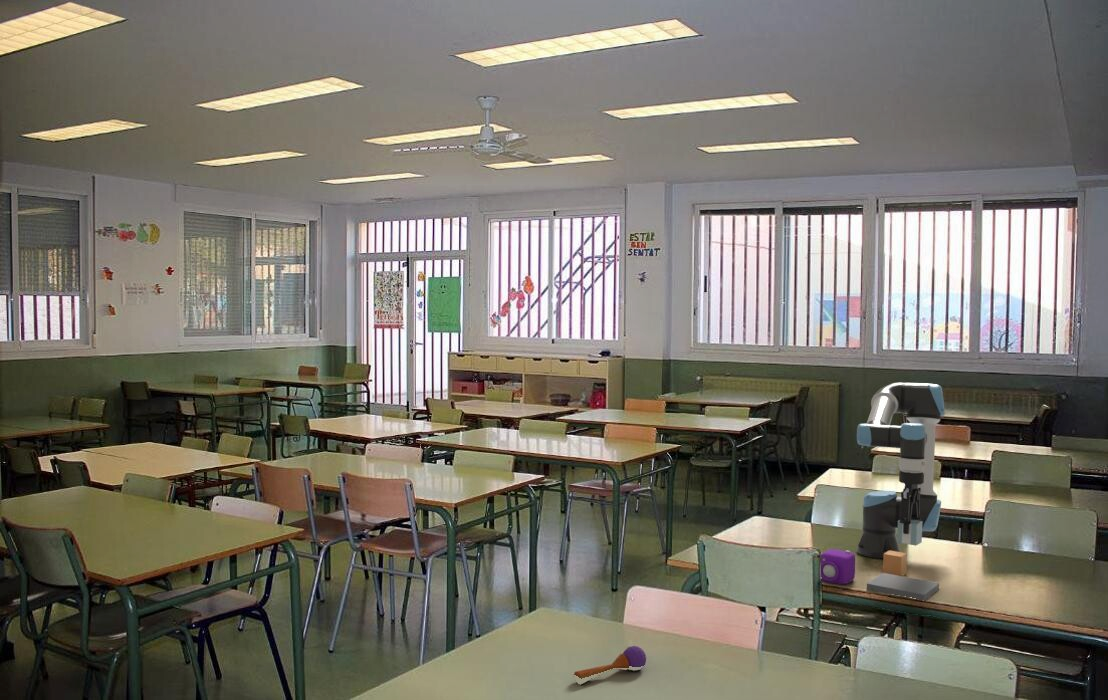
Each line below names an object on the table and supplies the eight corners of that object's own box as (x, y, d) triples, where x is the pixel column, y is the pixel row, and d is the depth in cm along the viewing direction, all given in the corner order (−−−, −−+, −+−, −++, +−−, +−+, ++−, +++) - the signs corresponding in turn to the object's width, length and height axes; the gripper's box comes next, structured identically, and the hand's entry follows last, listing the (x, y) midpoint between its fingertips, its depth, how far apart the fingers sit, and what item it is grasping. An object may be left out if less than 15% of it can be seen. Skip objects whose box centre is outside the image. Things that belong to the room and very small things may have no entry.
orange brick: (883, 573, 309) (883, 553, 308) (888, 570, 313) (889, 550, 313) (900, 577, 305) (901, 556, 305) (906, 573, 310) (906, 553, 309)
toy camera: (815, 584, 295) (815, 554, 295) (823, 574, 307) (824, 545, 307) (848, 589, 290) (849, 559, 290) (856, 578, 302) (856, 549, 302)
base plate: (866, 589, 290) (866, 583, 290) (883, 578, 303) (883, 572, 303) (924, 601, 279) (924, 594, 279) (938, 589, 292) (939, 583, 291)
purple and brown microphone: (569, 664, 216) (634, 641, 226) (573, 689, 215) (638, 665, 226) (582, 667, 211) (648, 644, 221) (586, 693, 210) (652, 669, 221)
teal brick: (897, 542, 291) (897, 521, 291) (902, 539, 296) (903, 518, 296) (916, 545, 287) (916, 524, 287) (921, 542, 292) (922, 521, 292)
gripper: (915, 475, 281) (912, 548, 282) (931, 468, 296) (929, 538, 297) (890, 473, 286) (888, 544, 286) (908, 466, 301) (906, 534, 301)
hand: (909, 541), depth 292 cm, fingers closed on teal brick, 6 cm apart
